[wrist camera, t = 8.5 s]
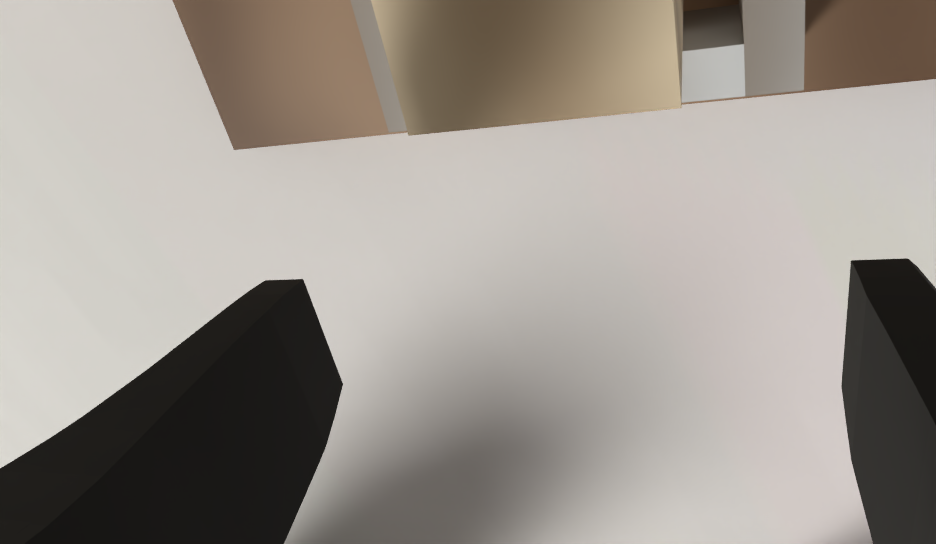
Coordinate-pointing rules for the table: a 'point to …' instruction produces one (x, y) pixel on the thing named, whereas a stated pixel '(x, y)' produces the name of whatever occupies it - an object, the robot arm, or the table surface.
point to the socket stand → (377, 105)
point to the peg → (530, 59)
